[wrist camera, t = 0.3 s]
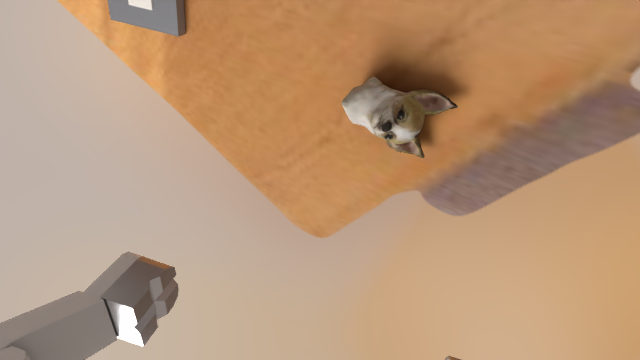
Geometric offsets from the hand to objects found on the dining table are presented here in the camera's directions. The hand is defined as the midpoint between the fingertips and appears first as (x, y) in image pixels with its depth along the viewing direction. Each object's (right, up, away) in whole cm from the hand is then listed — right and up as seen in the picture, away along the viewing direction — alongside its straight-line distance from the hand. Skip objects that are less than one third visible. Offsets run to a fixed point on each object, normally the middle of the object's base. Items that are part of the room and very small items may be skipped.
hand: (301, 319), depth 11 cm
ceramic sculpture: (+12, +15, +45) cm, 49 cm away
